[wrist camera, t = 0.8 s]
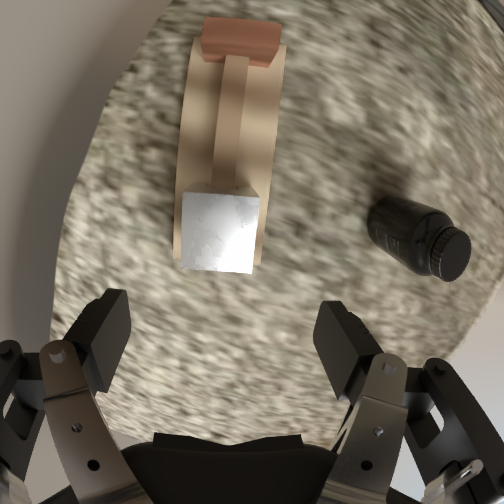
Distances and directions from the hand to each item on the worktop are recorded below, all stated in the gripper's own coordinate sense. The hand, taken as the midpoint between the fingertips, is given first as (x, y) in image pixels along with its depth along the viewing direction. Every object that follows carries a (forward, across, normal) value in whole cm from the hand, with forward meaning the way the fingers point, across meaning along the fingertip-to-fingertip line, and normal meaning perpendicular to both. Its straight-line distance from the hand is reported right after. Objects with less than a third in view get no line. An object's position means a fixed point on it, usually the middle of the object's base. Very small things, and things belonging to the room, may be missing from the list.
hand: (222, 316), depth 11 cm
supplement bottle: (+18, -20, -1) cm, 27 cm away
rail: (+18, 0, -7) cm, 19 cm away
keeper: (+16, 0, 0) cm, 16 cm away
